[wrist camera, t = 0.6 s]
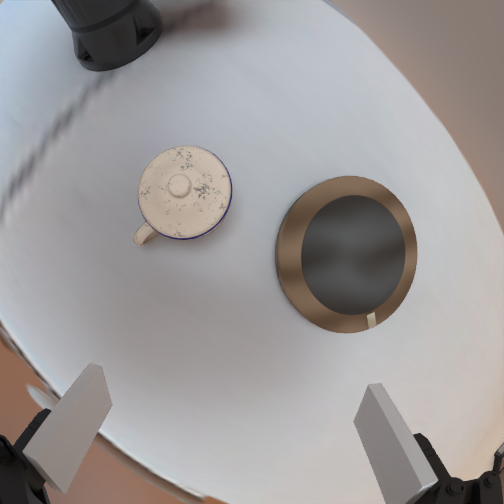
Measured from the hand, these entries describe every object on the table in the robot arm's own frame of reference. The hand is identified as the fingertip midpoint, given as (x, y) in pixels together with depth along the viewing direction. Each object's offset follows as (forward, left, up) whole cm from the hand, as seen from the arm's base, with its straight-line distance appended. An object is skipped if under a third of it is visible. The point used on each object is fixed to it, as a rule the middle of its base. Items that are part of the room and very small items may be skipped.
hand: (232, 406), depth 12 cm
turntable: (-1, +17, -23) cm, 29 cm away
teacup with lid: (-12, -2, -23) cm, 26 cm away
